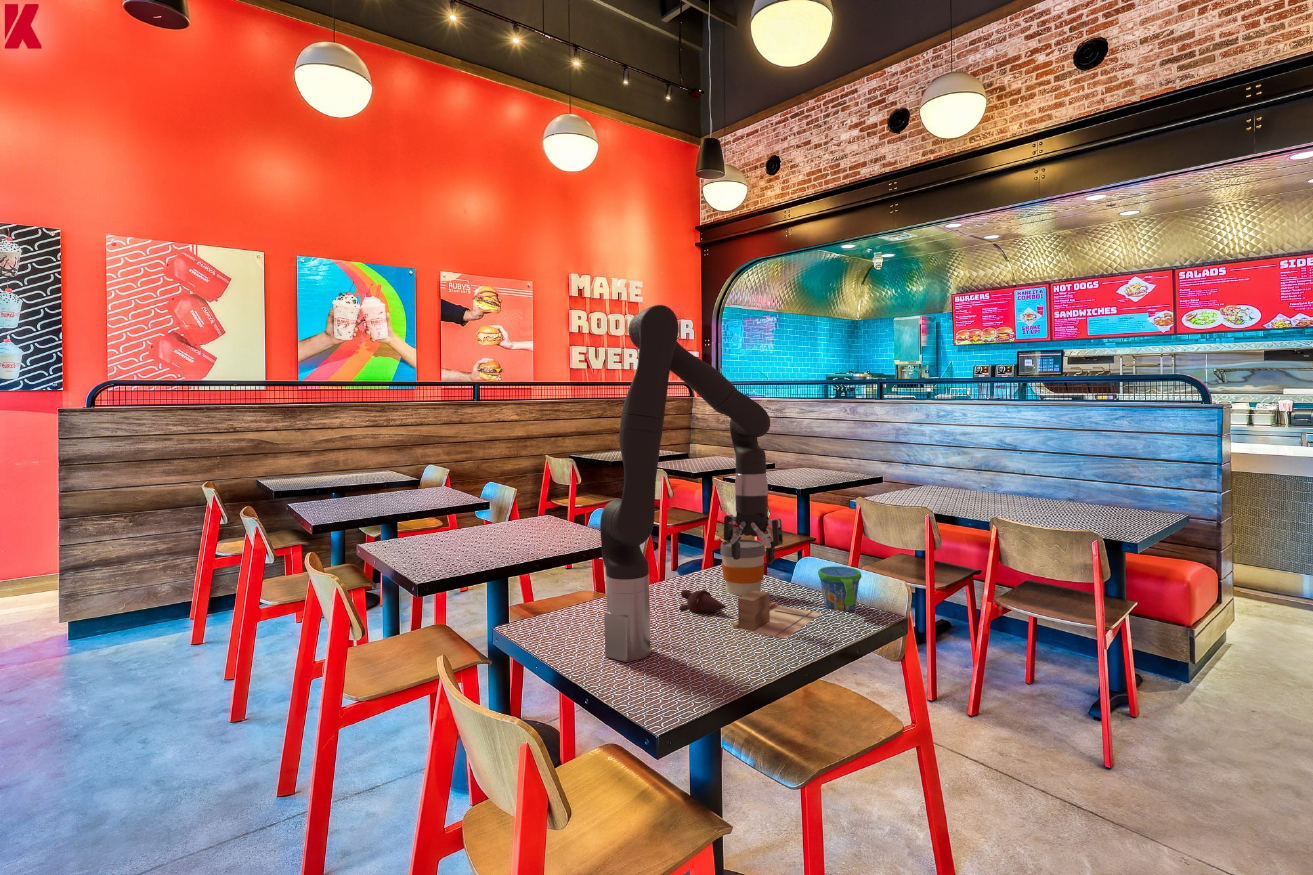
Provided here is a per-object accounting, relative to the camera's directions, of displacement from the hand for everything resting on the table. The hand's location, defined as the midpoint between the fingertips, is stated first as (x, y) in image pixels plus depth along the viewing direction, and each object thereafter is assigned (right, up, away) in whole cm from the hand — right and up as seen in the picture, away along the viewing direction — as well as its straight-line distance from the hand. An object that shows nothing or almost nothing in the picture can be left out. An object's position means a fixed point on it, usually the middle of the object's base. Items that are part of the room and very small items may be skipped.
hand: (753, 561), depth 148 cm
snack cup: (+25, -16, +15) cm, 33 cm away
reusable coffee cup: (+2, -16, +29) cm, 33 cm away
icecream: (-11, -17, +13) cm, 24 cm away
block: (0, -15, 0) cm, 15 cm away
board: (+6, -16, +4) cm, 18 cm away
